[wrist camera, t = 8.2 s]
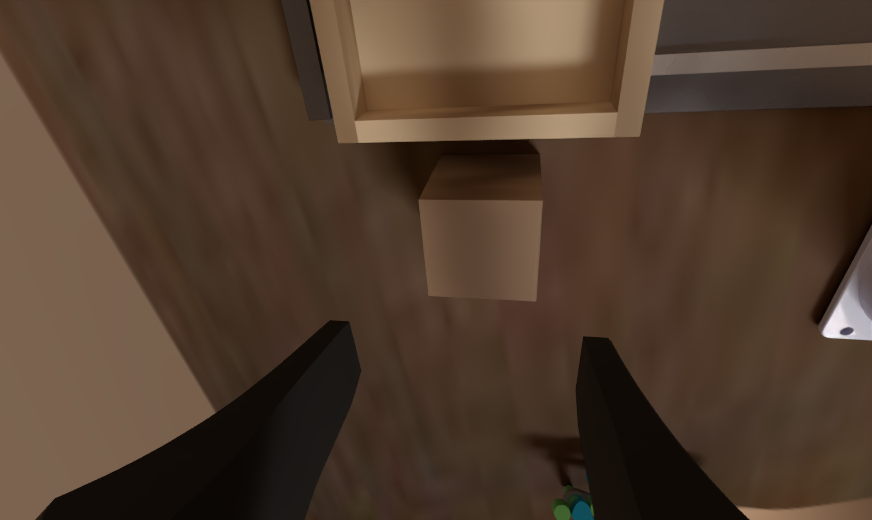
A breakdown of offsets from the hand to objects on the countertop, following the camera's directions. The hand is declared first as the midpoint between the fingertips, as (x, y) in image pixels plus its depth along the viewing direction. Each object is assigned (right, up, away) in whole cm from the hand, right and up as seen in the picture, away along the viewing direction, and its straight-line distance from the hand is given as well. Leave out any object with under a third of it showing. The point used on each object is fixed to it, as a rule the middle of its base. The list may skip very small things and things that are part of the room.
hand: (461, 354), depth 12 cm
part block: (+2, +6, +9) cm, 10 cm away
